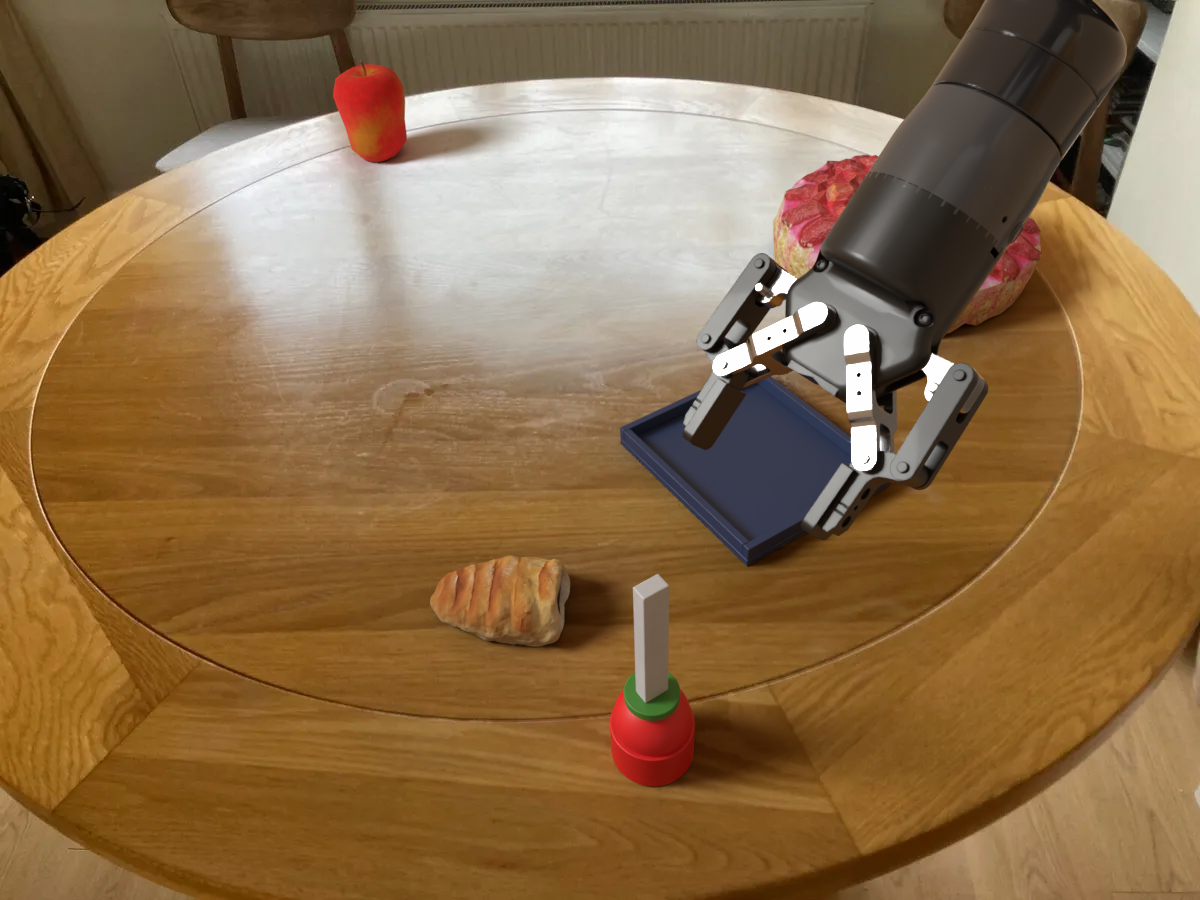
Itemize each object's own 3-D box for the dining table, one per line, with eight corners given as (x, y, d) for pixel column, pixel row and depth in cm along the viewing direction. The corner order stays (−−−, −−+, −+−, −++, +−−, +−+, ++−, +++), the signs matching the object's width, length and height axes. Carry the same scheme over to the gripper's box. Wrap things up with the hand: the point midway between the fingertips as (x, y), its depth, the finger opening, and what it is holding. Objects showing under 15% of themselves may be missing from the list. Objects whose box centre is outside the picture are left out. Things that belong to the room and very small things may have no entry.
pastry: (426, 648, 64) (416, 612, 62) (444, 572, 69) (436, 536, 67) (564, 651, 64) (560, 615, 61) (573, 574, 69) (569, 538, 66)
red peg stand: (710, 758, 58) (721, 595, 47) (642, 802, 56) (638, 643, 45) (661, 699, 61) (662, 534, 50) (595, 739, 59) (582, 576, 49)
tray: (890, 485, 74) (893, 468, 73) (746, 566, 69) (748, 550, 67) (754, 380, 84) (755, 364, 83) (620, 443, 79) (619, 427, 78)
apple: (418, 164, 119) (400, 68, 111) (349, 173, 117) (326, 77, 109) (411, 135, 125) (395, 42, 117) (346, 144, 124) (325, 51, 116)
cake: (727, 223, 102) (736, 154, 97) (931, 189, 108) (951, 122, 102) (838, 367, 86) (856, 294, 80) (1071, 318, 92) (1104, 246, 86)
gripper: (794, 126, 47) (621, 401, 50) (1053, 235, 39) (826, 559, 42) (852, 190, 53) (694, 433, 56) (1087, 297, 45) (887, 578, 48)
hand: (750, 487), depth 49 cm, fingers open, 8 cm apart
